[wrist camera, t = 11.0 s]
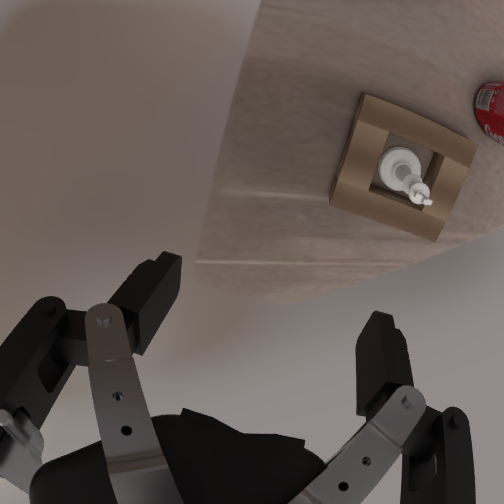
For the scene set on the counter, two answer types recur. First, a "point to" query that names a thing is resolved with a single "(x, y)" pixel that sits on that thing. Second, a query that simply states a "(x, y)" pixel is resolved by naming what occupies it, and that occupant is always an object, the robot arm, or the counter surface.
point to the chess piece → (404, 174)
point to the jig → (367, 157)
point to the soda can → (491, 110)
